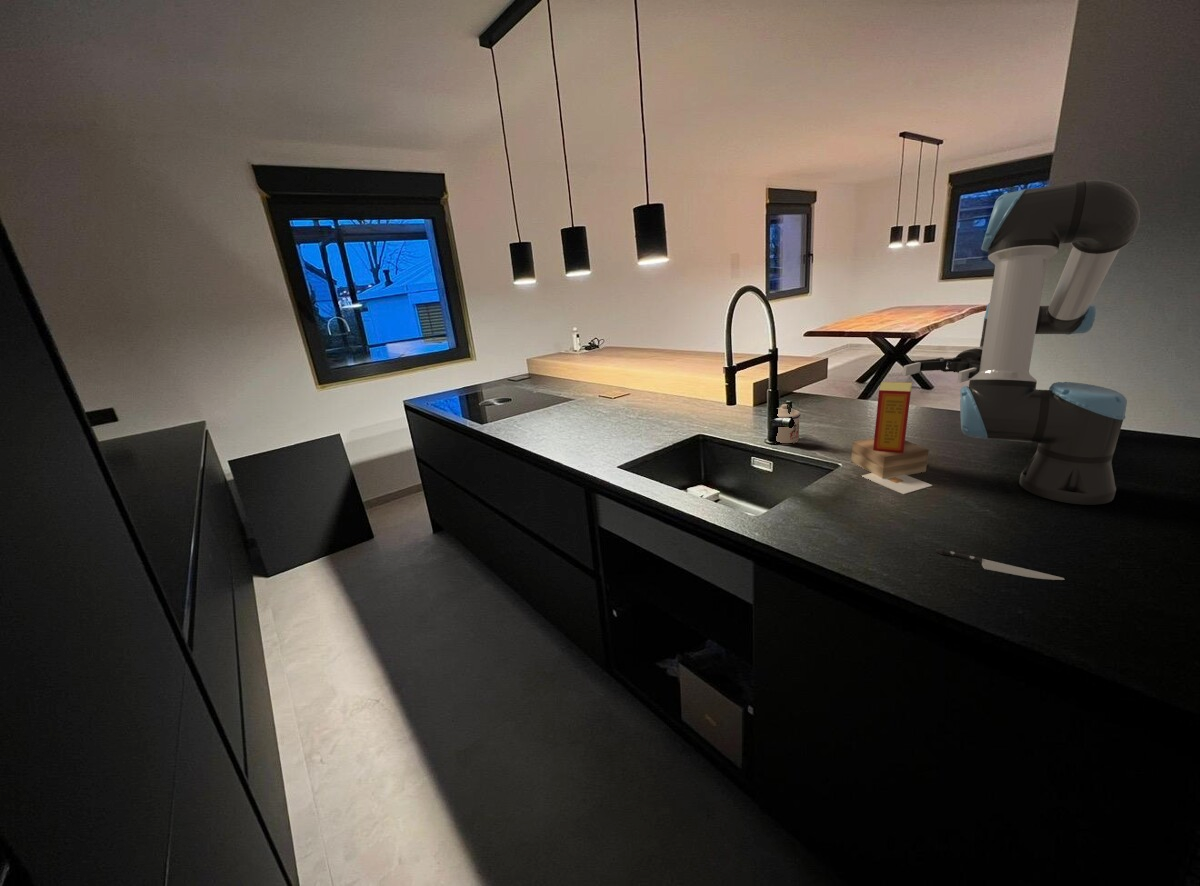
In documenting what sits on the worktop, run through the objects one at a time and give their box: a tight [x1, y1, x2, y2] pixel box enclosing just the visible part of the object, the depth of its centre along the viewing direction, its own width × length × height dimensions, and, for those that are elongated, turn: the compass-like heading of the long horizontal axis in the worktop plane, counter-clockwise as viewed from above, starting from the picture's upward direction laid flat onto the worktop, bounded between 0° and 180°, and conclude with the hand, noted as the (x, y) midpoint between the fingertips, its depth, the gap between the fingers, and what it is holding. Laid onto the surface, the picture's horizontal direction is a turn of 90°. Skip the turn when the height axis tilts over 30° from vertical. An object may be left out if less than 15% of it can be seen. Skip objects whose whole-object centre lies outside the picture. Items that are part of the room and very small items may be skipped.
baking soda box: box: [873, 381, 913, 453], centre depth 120 cm, size 10×6×16 cm
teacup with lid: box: [776, 403, 801, 443], centre depth 149 cm, size 12×9×12 cm
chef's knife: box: [935, 548, 1065, 581], centre depth 82 cm, size 19×1×3 cm
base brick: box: [850, 437, 930, 478], centre depth 123 cm, size 12×12×6 cm
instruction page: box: [861, 472, 933, 495], centre depth 116 cm, size 12×9×1 cm
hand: (930, 374), depth 123 cm, fingers open, 13 cm apart
